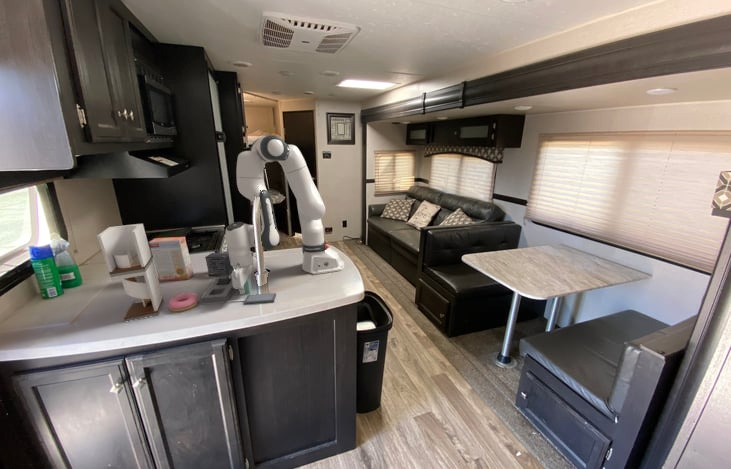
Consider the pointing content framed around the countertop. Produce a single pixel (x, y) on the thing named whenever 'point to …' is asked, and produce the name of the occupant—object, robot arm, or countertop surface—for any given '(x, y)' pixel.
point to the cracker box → (171, 258)
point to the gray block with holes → (219, 291)
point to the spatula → (258, 299)
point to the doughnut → (183, 302)
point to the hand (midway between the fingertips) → (245, 287)
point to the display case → (132, 268)
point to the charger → (248, 286)
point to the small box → (219, 264)
